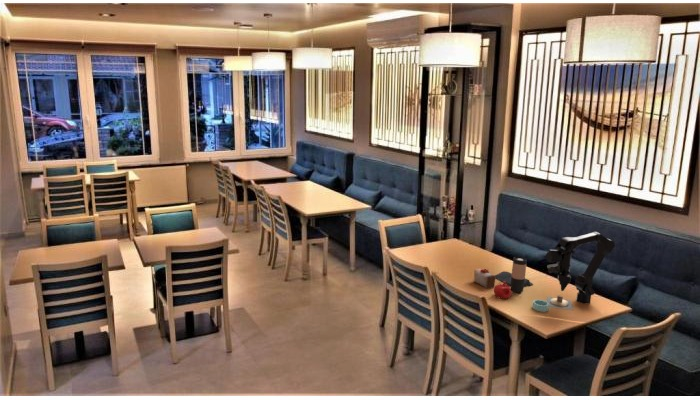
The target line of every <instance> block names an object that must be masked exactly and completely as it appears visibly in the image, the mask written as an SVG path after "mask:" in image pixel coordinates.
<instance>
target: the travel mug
mask: <svg viewBox="0 0 700 400" xmlns="http://www.w3.org/2000/svg"><path fill="white" fill-rule="evenodd" d="M527 261H528V260H527V258H525V257H523V256H513V260H512V266H511V267H512V268H511V273H512V275H511V287H510V289H511V291H512V293H515V294H521V293H522V292H524V289H525V288H524V281H525V279H526V274H527V273H526V271H527Z"/></svg>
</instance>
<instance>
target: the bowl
mask: <svg viewBox="0 0 700 400" xmlns="http://www.w3.org/2000/svg"><path fill="white" fill-rule="evenodd" d="M531 306H532V309H534V311H537V312H543V313H545V312H548V311H549V308H550V307H549V303H548V302H547V300H543V299H533V301H532V305H531Z"/></svg>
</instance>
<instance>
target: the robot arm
mask: <svg viewBox="0 0 700 400" xmlns="http://www.w3.org/2000/svg"><path fill="white" fill-rule="evenodd" d="M593 242H596V251H595V253H594V255H593V257H592V259H591V260H590V262H589V264H588V265H587V268H586V269H585V270H584V273H582V274H578V275H577V277H576V278H575V280H574V286H575V289H576V290H577V291H578V292H577V293H576V299H575V301H576V302H579V303H581V304H591V300H592V296H593V295H595V293H596V292H595V290H594V289H593V284H594V283H593V282H594V280H593V278H594V277H595V275H596V273H597V271H598V269H599V267H600V266H601V264H602V262H603V260H604V259H605V257H606V256H607V255H609V254H610V253H611V252H612V251H613V250H614V248H615V246H616V244H615V241H614V240H612V239H609V238H607V237H606V236H604V235H603V234H602V233H599V232H598V231H593V232H589V233H587V234H583V235H579V236H575V237H572V236H566V237H561V239H560V240H559V241H558V243H557V244H556V246H554V249H548V251H547V252H546V254H545V259H546V261H547V263H552V264H547V266H546V267H547V272H548V273H549V274H552V273H556V274H557V281H558V282H559V285H560V291H561V292H564V291H565V289H566V288H567V286H568V285H570V283H571V282H572V277H571V275H570V268H571V267H572V266H571V261H572V255H573V254H576V251H574V250H575V249H577V248H578V247H580V246H582V245H585V244H589V243H593Z"/></svg>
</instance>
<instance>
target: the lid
mask: <svg viewBox="0 0 700 400" xmlns="http://www.w3.org/2000/svg"><path fill="white" fill-rule="evenodd" d="M552 298H553V299H551V303H552V304H553V305H556V306H560V307H566V306H568V301H566V300H564V299H565V298H564V296H563V295H557V297H552Z"/></svg>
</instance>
